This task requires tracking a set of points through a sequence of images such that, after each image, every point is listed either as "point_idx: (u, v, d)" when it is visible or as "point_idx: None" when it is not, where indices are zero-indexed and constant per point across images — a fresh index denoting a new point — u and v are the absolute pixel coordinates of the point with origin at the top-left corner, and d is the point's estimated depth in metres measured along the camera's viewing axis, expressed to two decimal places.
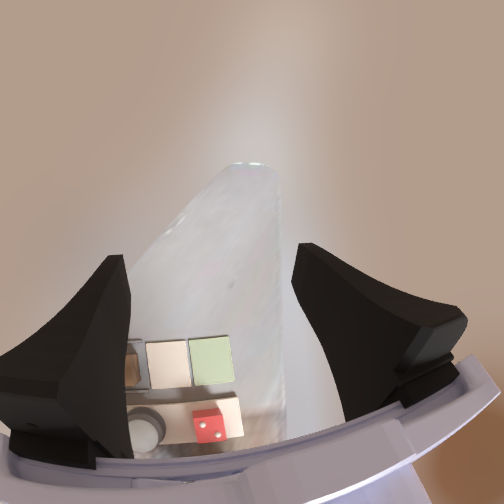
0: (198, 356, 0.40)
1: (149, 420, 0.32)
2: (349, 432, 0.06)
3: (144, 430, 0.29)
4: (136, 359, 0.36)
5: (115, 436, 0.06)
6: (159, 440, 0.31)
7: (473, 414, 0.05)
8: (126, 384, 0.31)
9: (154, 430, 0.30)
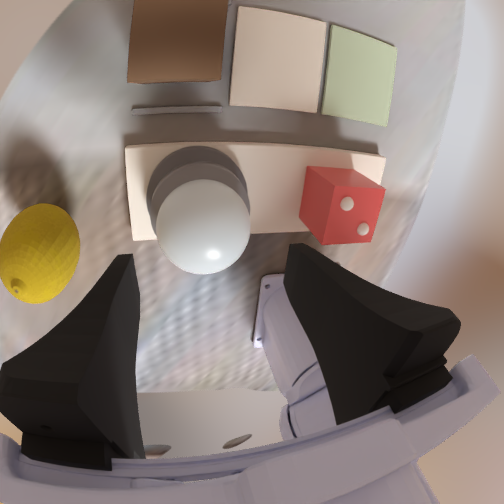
0: (343, 60, 0.16)
1: (228, 181, 0.15)
2: (349, 432, 0.06)
3: (231, 216, 0.13)
4: None
5: (129, 436, 0.06)
6: None
7: (473, 414, 0.05)
8: (197, 73, 0.10)
9: (247, 211, 0.14)
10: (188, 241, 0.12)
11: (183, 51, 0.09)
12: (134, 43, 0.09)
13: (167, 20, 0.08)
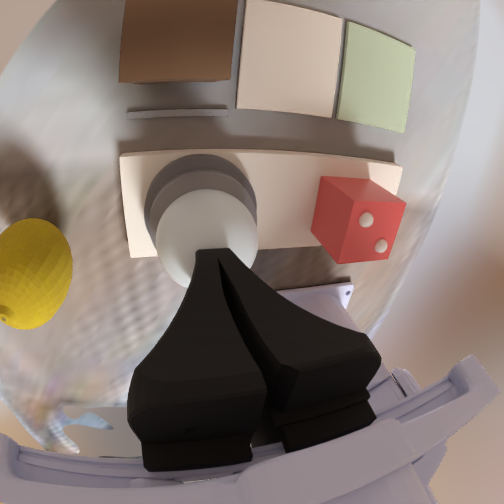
0: (360, 60, 0.14)
1: (234, 191, 0.14)
2: (349, 432, 0.06)
3: (238, 231, 0.12)
4: None
5: None
6: None
7: (473, 414, 0.05)
8: (202, 71, 0.08)
9: (255, 224, 0.13)
10: (191, 259, 0.11)
11: (185, 44, 0.08)
12: (127, 36, 0.07)
13: (167, 8, 0.07)
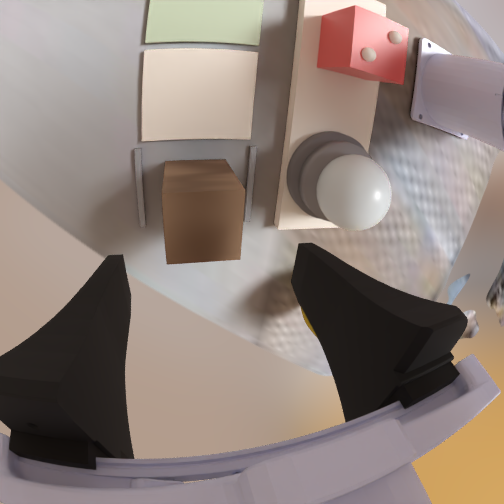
0: (189, 24, 0.13)
1: (322, 161, 0.17)
2: (349, 432, 0.06)
3: (354, 185, 0.15)
4: (177, 166, 0.17)
5: (115, 436, 0.06)
6: (365, 154, 0.17)
7: (473, 414, 0.05)
8: (239, 209, 0.14)
9: (352, 160, 0.15)
10: (363, 220, 0.15)
11: (217, 222, 0.14)
12: (207, 258, 0.15)
13: (187, 238, 0.14)
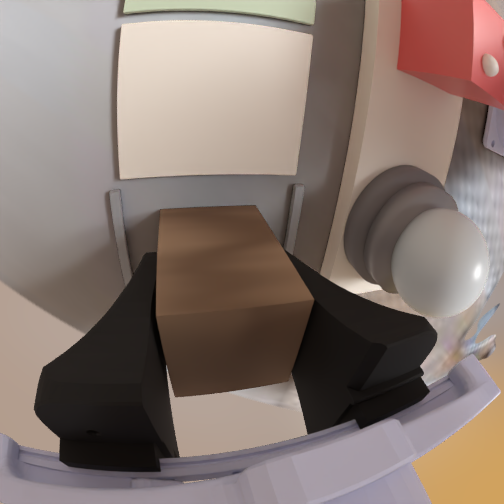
0: None
1: (405, 217, 0.10)
2: (349, 432, 0.06)
3: (459, 267, 0.08)
4: (179, 224, 0.10)
5: (169, 435, 0.06)
6: (452, 203, 0.11)
7: (473, 414, 0.05)
8: (298, 327, 0.08)
9: (453, 224, 0.09)
10: (457, 311, 0.09)
11: (259, 347, 0.08)
12: (239, 387, 0.09)
13: (207, 370, 0.08)
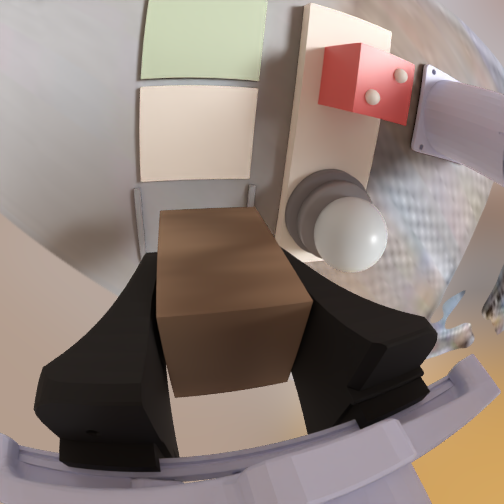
0: (186, 59, 0.13)
1: (320, 203, 0.17)
2: (349, 432, 0.06)
3: (351, 233, 0.15)
4: (179, 226, 0.10)
5: (169, 435, 0.06)
6: (363, 194, 0.18)
7: (473, 414, 0.05)
8: (297, 328, 0.08)
9: (350, 206, 0.16)
10: (358, 266, 0.16)
11: (259, 348, 0.08)
12: (238, 387, 0.09)
13: (206, 370, 0.08)
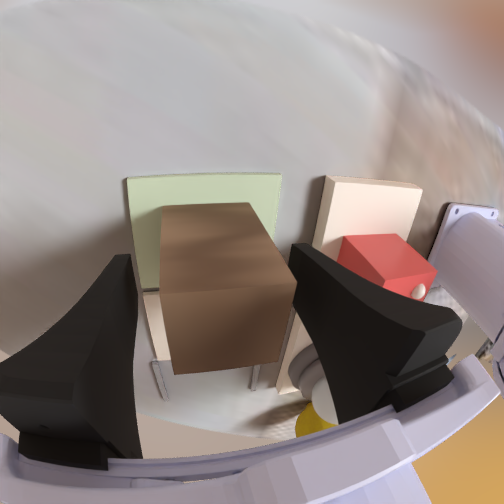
0: None
1: (319, 376, 0.19)
2: (349, 432, 0.06)
3: None
4: (180, 219, 0.11)
5: (126, 436, 0.06)
6: None
7: (473, 414, 0.05)
8: (284, 308, 0.09)
9: None
10: None
11: (250, 326, 0.09)
12: (232, 365, 0.10)
13: (203, 347, 0.09)
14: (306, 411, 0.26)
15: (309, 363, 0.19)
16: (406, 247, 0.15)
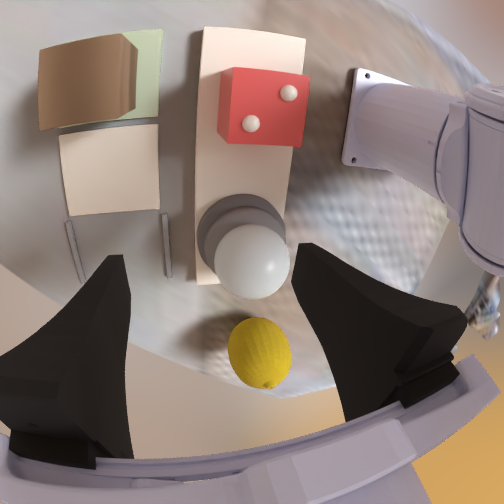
0: None
1: (219, 232, 0.18)
2: (349, 432, 0.06)
3: (238, 264, 0.16)
4: None
5: (115, 436, 0.06)
6: (268, 219, 0.19)
7: (473, 414, 0.05)
8: (113, 54, 0.09)
9: (241, 236, 0.17)
10: (252, 295, 0.17)
11: (90, 71, 0.09)
12: (79, 118, 0.10)
13: (59, 94, 0.09)
14: (239, 323, 0.26)
15: None
16: None
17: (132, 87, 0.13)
